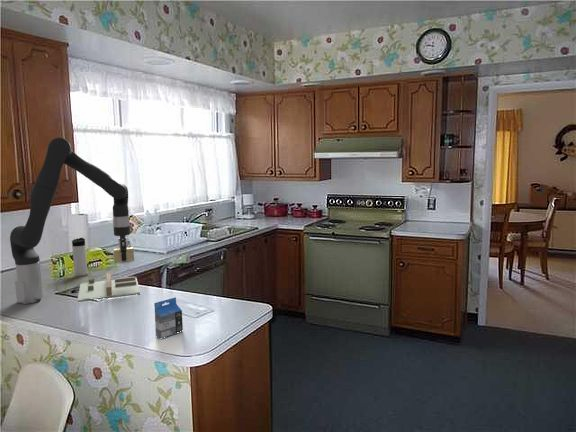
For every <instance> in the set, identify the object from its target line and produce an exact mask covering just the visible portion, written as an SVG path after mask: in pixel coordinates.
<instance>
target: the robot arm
mask: <svg viewBox="0 0 576 432" xmlns="http://www.w3.org/2000/svg"><path fill="white" fill-rule="evenodd" d="M64 165H66V166H67V167H70V168H72V169H74V170H75V171H77V172H78V173H79V174H81V175H82V176H84V177H85V178H87V179H88V180H89V181H91V182H92V183H94V184H95V185H96V186H98V187H99V188H102V190H103V191H104V192H105V193H107V194H108V195H109V196H111V197H112V198H113V205H112V217H113V218H112V223H113V224H112V227H113V235H114V236H115V237H119V238H118V239H117V241H118V248H120V249H121V257H122V261H125V262H127V261H126V260H127V259H126V253H127V251H126V248H127V243H128V238H127V236H129V235H130V234H131V222H130V217H129V216H130V215H129V206H128V205H129V204H128V203H129V189H128V187H127V185H126V184H123V183H120V182H118V181H116V180H115V179H113V178H112V177H111V175H109V174H108V173H107V172H106V171H104V170H102V169H101V168H100V167H99V166H97V165H95V164H93V163H90V162H89V161H87V160H85V159H83V158H82V157H81V156H79V155H78V154H77V153H76V152H74V150H72V146H71V144H70V142H69V141H68V140H67V139H66V138H64V137H58V136H57V137H54V138H53V139H51V141H50V142H49V143H48V146H47V150H46V155H45V158H44V161H43V164H42V167H41V169H40V171H39V172H38V174H37V176H36V179H35V182H34V184H33V187H32V189H31V192H30V195H29V215H28V219H27V221H26V223H25V225H20V226H16V227H14V228H13V229H12V230H11V232H10V235H9V242H10V248H11V254H12V258H13V260H14V263H15V274H16V280H15V281H14V285H15V295H16V302H17V303H19V304H23V305H28V304H33V303H36V302H37V303H38V302H40V301H41V300H42V298H44V291H43V282H42V272H41V271H42V270H41V262H40V255H39V254H38V253H37V252H36V251H35V249H34V248H35V247H37V246H38V245H39V243H40V242H41V240H42V235H43V233H44V229H45V224H46V221H47V217H48V216H49V215H48V214H49V212H50V209H51V206H52V203H53V201H54V199H55V196H56V193H57V191H58V187H59V183H60V177H61V173H62V171H61V170H62V167H63V166H64ZM122 249H125V250H123V251H122Z"/></svg>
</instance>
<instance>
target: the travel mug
mask: <svg viewBox="0 0 576 432" xmlns="http://www.w3.org/2000/svg"><path fill="white" fill-rule="evenodd" d="M71 245H72V246H71V247H72V248H71V249H72V261H73V272H74V278H83V277H88V275H89V274H88V273H89V271H88V261H87V260H88V259H87V249H86V247H87V246H86V239H85V238H84V237H79V238H74V239H73V240H71Z"/></svg>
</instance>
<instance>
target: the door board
mask: <svg viewBox="0 0 576 432" xmlns="http://www.w3.org/2000/svg"><path fill="white" fill-rule="evenodd" d="M111 273H112V272H106V273H105V275H106V280H102V281H101V280H100V281H95V278H88V282H82V283H80V285H79V290H78V295H77V303H79V302H89V301H95V300H94V299H98V300H104V299H103V298H106V299H112V298H121V297H128V296H136V294H138V295H141V291H140V286H139V282H138V278H137V277H136V276H126V277H116V278H114V279H112V274H111Z"/></svg>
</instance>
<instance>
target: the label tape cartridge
mask: <svg viewBox="0 0 576 432" xmlns="http://www.w3.org/2000/svg"><path fill="white" fill-rule="evenodd" d="M154 325H155V327H154V329H155V337H156V336H157V337H156V338H158V337H159V338H158V339H160V338H164V337H166V338H168V337H167V336H169V335H172V334H175V333H177V332H180V331H182V330H183V331H184V325H183V310H182V309H181V307H180V306H179V305H178V304H177V297H173V298H169V299H164V300H161V301H157V302H154ZM175 335H176V334H175ZM172 336H173V335H172ZM169 337H170V336H169ZM164 339H165V338H164Z"/></svg>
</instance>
